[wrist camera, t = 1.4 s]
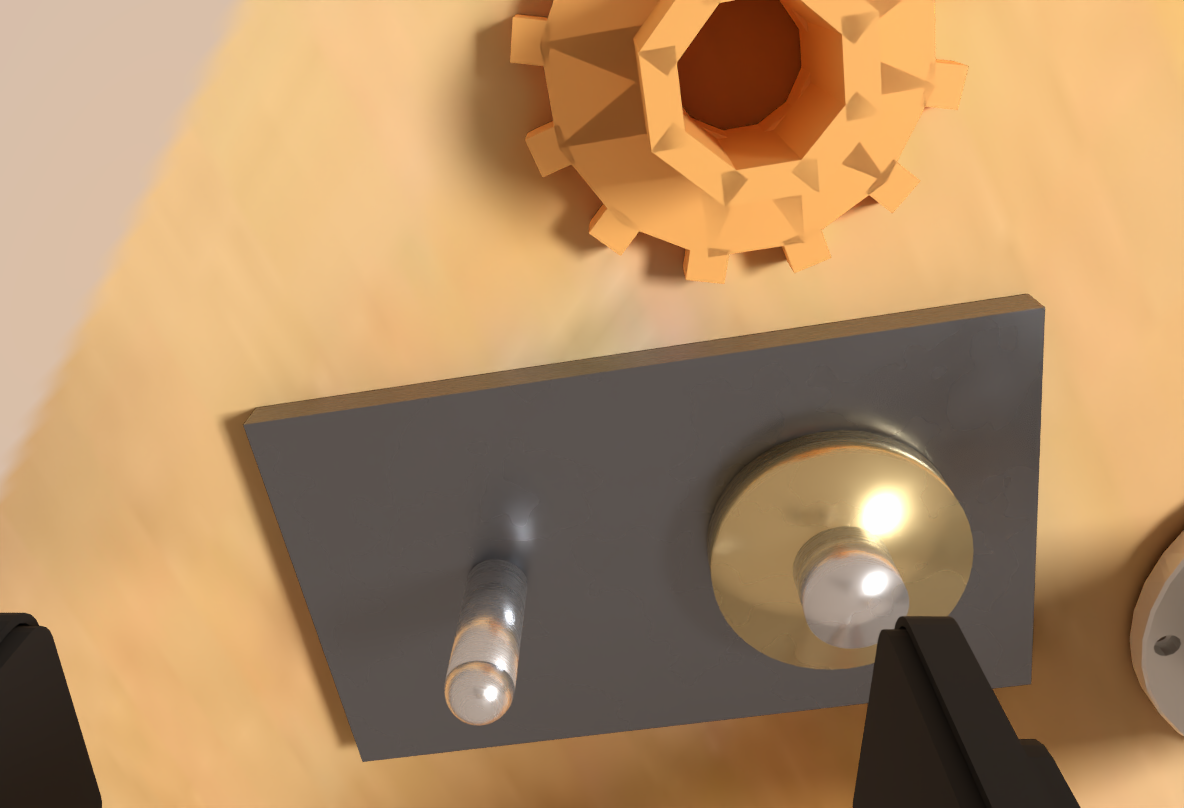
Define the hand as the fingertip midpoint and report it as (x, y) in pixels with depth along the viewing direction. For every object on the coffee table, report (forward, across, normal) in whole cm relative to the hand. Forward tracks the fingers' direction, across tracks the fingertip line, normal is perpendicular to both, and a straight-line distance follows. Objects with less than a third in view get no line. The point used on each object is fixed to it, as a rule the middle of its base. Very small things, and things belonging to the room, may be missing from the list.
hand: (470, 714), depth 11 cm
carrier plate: (+19, -3, +10) cm, 22 cm away
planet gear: (+19, -5, -5) cm, 20 cm away
